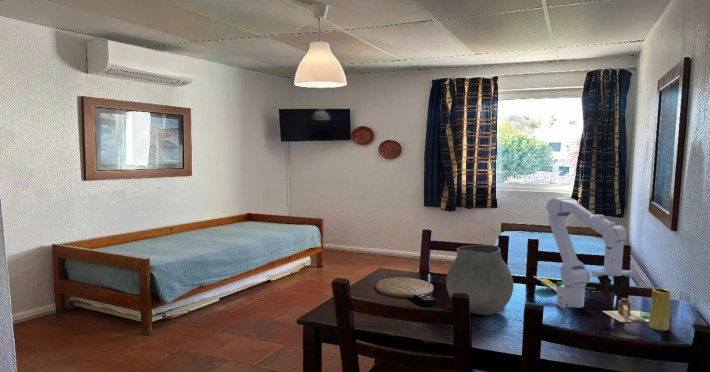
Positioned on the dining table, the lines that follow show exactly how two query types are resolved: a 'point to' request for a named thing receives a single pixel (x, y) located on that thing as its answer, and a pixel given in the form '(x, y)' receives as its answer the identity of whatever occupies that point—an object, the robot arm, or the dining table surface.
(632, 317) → the tuner board
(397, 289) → the trivet
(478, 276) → the ceramic pot
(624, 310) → the knob
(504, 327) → the dining table surface
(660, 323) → the vase
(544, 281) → the decorative flower
